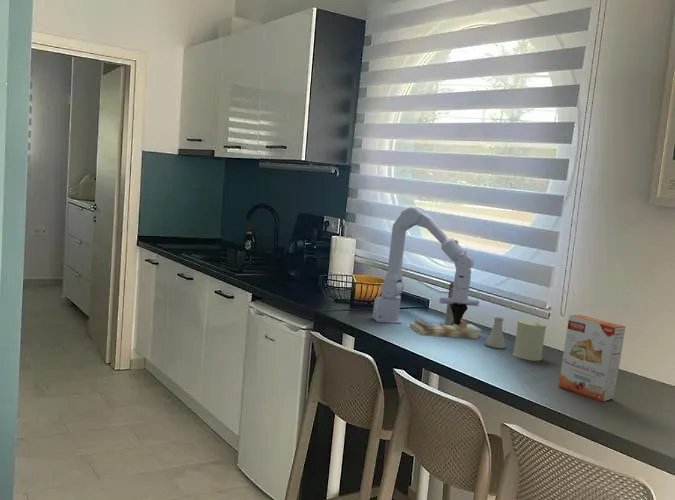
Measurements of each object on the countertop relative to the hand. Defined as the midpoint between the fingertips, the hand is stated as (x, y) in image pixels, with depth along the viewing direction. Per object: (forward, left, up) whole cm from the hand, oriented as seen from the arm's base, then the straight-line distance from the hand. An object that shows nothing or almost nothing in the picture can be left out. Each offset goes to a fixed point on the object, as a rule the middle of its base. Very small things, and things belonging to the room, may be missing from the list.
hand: (456, 324), depth 253 cm
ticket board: (-5, 0, -3) cm, 6 cm away
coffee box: (+4, +14, -4) cm, 15 cm away
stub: (+4, 0, -2) cm, 5 cm away
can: (+14, -28, -4) cm, 32 cm away
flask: (+8, -16, -4) cm, 18 cm away
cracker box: (+13, -65, -4) cm, 66 cm away
